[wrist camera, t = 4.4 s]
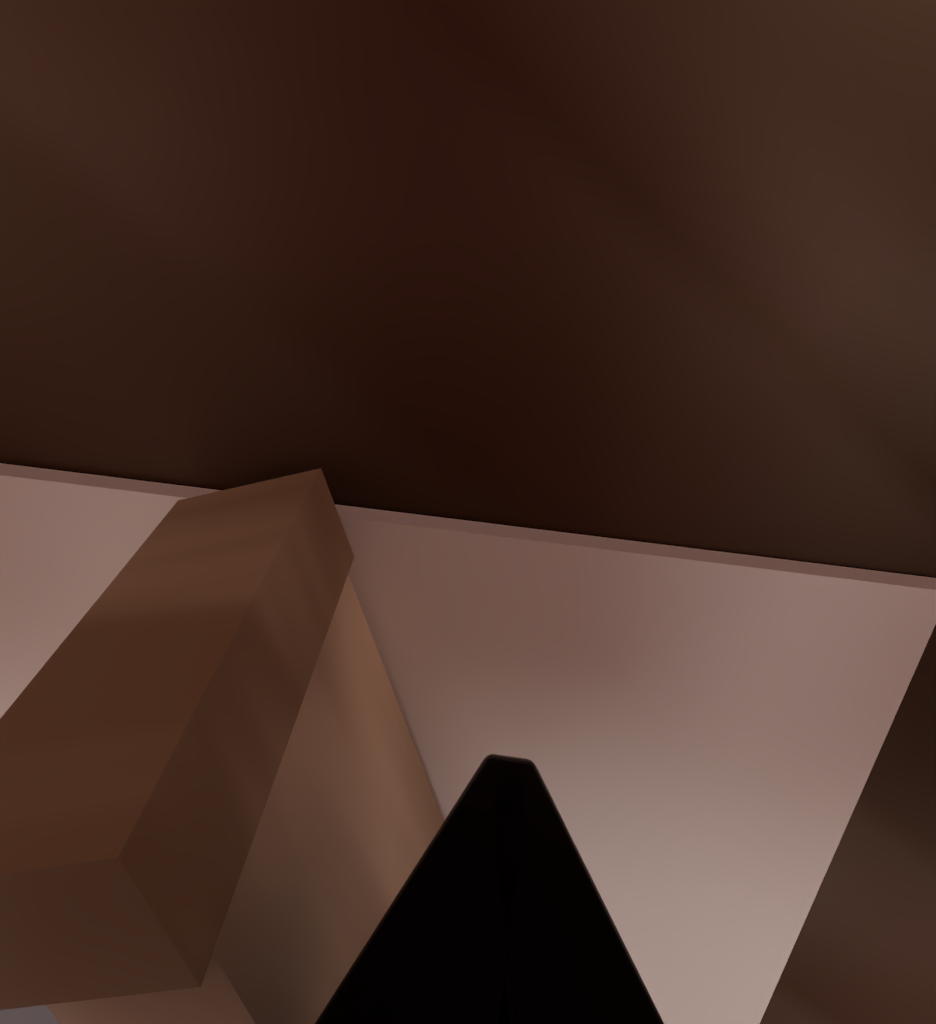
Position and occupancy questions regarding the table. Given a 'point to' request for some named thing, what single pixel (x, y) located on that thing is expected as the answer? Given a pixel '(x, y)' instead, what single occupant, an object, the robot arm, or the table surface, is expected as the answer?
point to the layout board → (579, 700)
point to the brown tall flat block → (208, 779)
